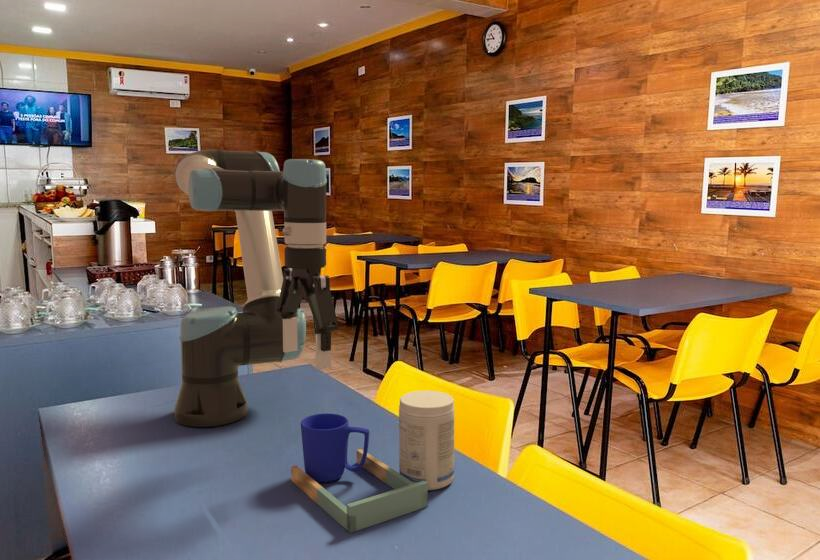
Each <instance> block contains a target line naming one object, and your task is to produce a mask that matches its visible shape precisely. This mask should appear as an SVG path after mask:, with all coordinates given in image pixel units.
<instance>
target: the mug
mask: <svg viewBox="0 0 820 560" xmlns="http://www.w3.org/2000/svg"><path fill="white" fill-rule="evenodd" d="M300 431H301V432H300V433H301V446H302V453H303V455H302V456H303V466H304V472H305V473H306V474H307V475H309V476H310V477H311V478H312V479H313V480H315V481H316V482H317V483H330V482H334V481H337V480H338V479H340V478H341V477H342V476H343V475H344V473H345V469H346V470H348V471H351V472H358V471H359V470H361V469H362V468H363V467H362V466H363V465H364V463H365V460H366V457H367V453H368V450H369V443H370V442H369V440H370V430H369V428H365V427H359V426H351V425H350V426H349V420H348V418H347V417H346V416H345V415H341V414H337V413H317V414H312V415H309V416H306V417H304V418H303V419H301V422H300ZM351 433H359V434H363V435H364V442H363V443H364V444H363V449H362V450H363V456H362V460H361V462H360V464H357V465H350V464H349V461H348V450H349V449H348V448H349V447H348V446H349V436H350V434H351Z"/></svg>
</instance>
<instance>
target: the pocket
mask: <svg viewBox="0 0 820 560" xmlns="http://www.w3.org/2000/svg"><path fill="white" fill-rule="evenodd" d="M385 484H386V485H388V487H390V488H392V490H389V491H386V492H383V493H380V494H379V493H378V494H376V495H372V496H369V497H367V498H363V499H362V498H361V499H360V500H357V501H353V502H350V503H347V504H346V505H345V504H343V502H341V500H339V499H337V497H335V496H334V495H333V494H331V493H330V492H329V491H328V490H327V489H325V488H324V487H323V488H319V489H317V503H316V504H317V505H318V506H319V507H320V508H322V510H324V511H325V512H326V513H327V514H328V515H330V517H331V518H333V519H334V520H335V522H337V523H338V524H339V525H341V526H342V528H344V529H345V530H346V531H347V532H348V533H350V534H351V533H355V532H358V531H359V530H364V529H366V528H369V527H372V526H375V525H378V524H381V523H383V522H386V521H390V520H392V519H396V518H398V517H399V518H400V517H401V516H404V515H408V514H410V513H413V512H415V511H419V510H422V509H424V508H427V507H428V491H429V490H428V483H427V482H425V481H421V482H417V483H413V482H412V481H410V480H408V479H407V478H405V477H404V476H402V475H401V474H399V472H397V471H396V470H394V469H393V468H391V467H390V469H386V483H385Z"/></svg>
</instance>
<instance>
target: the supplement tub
mask: <svg viewBox="0 0 820 560" xmlns="http://www.w3.org/2000/svg"><path fill="white" fill-rule="evenodd" d="M398 453H399V454H398V457H399V458H398V460H399V461H398V462H399V465H398V466H399V472H398V473H399V474H401V475H402V476H404V477H405V478H407V479H408V480H410V481H412V482H413V483H417V482H421V481H425V482H427V483H428V491H436V490H440V489H443V488H445V487H447V486H448V485H450V484H451V483H452V482H453V480H454V478H455V405H454V398H453V396H452V395H450V394H448V393H446V392H442V391H436V390H415V391H410V392H407V393H405V394H402V395H401V397H400V398H399V405H398Z"/></svg>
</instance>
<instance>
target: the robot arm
mask: <svg viewBox="0 0 820 560" xmlns="http://www.w3.org/2000/svg"><path fill="white" fill-rule="evenodd" d="M282 169H283V170H281V171H280V166H279V163H278V162H277V159H276V158H275V157H274V155H273V154H271V153H269V152H265V151H258V150H250V151H248V150H247V151H244V150H243V151H242V150H225V149H224V150H223V149H202V150H197V151H194V152H191V153H188V154H186V155H185V156H183V157H181V158H180V160H179V161H178V162H177V163H176V165H175V167H174V171H173V177H174V178H173V179H174V180H175V184H176V185H177V187H178V188H179V189H180V190H181V191H182V192H183V193H185V194H186V195H188V200H189V203H190V207H191V208H192V209H193V210H195V211H206V212H215V211H217V212H218V211H221V212H222V211H225V212H227V211H232V212H235V217H236V224H237V225H236V226H237V231H238V239H239V247H240V254H241V259H242V260H241V261H242V267H243V274H244V281H245V287H246V288H245V289H246V297H247V300H246V301H245V303H244V304H243V305H242V312H238V310H237V308H236V307H235V306H231V305H226V306H212V307H207V308H201V309H198V310H195V311H192V312H189V313H187V314H186V315H184V316H183V317H182V319H181V320H180V327H179V328H180V329H179V330H180V331H179V337H178V338H179V341H180V352H181V353H180V354H181V355H180V359H181V364H180V365H181V386H180V389H179V393H178V396H177V399H176V403H175V404H174V405H175V406H174V421H175V422H176V423H177V424H180V425H183V426H185V427H194V428H195V427H196V428H199V427H200V428H208V427H209V428H210V427H217V426H219V427H220V426H224V425H228V424H232V423H235V422H237V421H239V420H240V421H241V420H242V419H243V418H245V416H246V415H248V401H247V398H246V395H245V393H244V391H243V388H242V385H241V382H240V380H239V367H241V366H250V365H258V364H259V365H260V364H270V363H283V362H285V361H286V362H287V361H292V360H296V359H297V358H299V357H300V356H301V355H302V352H303V351H304V348H305V347H304V346H305V342H306V337H307V335H306V334H307V319H306V313H305V311H304V309H302V308H299V307H300V304H301V302H302V300H303V299H304V301H305V302H308V303H307V304H308V306H309V308H310V313H311V314H312V317H313V321H314V323H315V327H316V330H315V331H314V334H315V335H314V336H315V339H314V341H315V343H314V345H315V356H314V357H315V359H314V360H315V370H324V369H328V368H332V333H333V332H335V331H339V328H340V327H339V326H340V325H339V322H338V318H337V312H336V310H335V305H334V300H333V296H332V292H331V284H330V281H331V280H330V277H329V275H320V269H323V268H325V267H326V266H327V248H326V246H324V245H326V244H327V183H328V178H327V172H326V171H327V170H326V164H325V162H324V161H323V160H319V159H310V158H309V159H307V158H289V159H286V160H285V161H284V163H283V168H282ZM279 211H280V212H281V211H282V212H283V220H284V221H283V223H284V226H283V228H282V232H283V233H284V234H283V235H284V243H285V244H286V245H287V246H285V248H284V250H283V251H284V257H283V259H284V266H285V267H286V268H285V267H284V269H283V270H282V265H281V259H280V253H279V247H278V245H279V244H278V239H277V235H276V228H275V222H274V216H273V212H279Z"/></svg>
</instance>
